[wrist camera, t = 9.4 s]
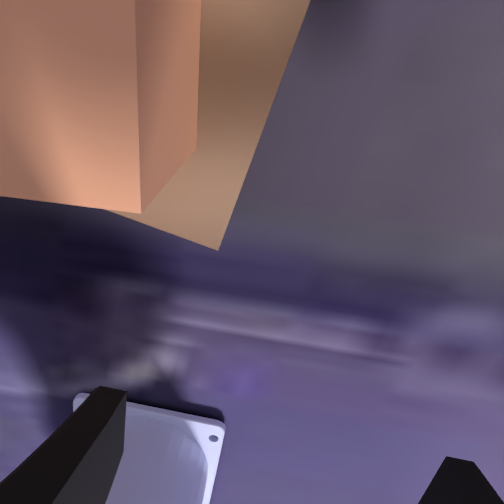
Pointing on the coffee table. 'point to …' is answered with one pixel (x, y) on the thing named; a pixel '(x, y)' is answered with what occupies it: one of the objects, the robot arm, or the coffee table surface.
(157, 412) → the robot arm
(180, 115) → the terracotta cube
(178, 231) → the walnut block
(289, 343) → the coffee table surface
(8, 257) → the coffee table surface
